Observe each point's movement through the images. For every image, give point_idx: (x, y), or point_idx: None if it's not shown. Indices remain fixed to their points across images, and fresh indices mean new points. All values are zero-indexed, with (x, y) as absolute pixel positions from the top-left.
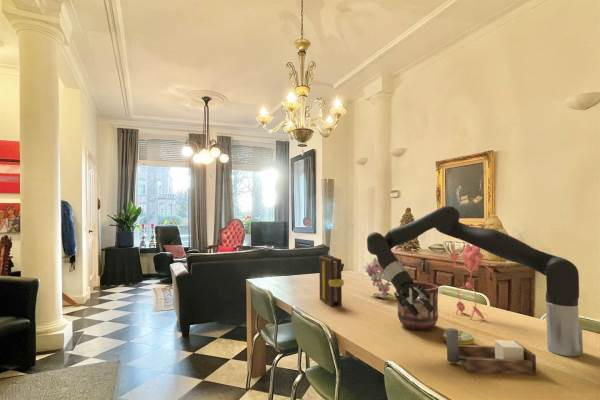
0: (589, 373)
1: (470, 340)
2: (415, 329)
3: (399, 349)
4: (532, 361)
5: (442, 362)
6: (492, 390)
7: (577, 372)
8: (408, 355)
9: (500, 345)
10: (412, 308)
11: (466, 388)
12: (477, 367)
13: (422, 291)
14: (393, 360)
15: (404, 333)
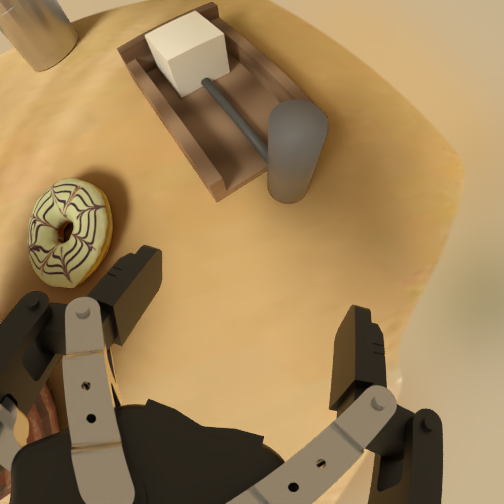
0: (149, 2)
1: (85, 182)
2: (54, 402)
3: (283, 398)
4: (218, 15)
5: (299, 221)
6: (374, 86)
7: (154, 9)
8: (320, 346)
9: (206, 43)
10: (383, 360)
11: (412, 130)
12: None
13: (7, 382)
14: (395, 364)
15: None
